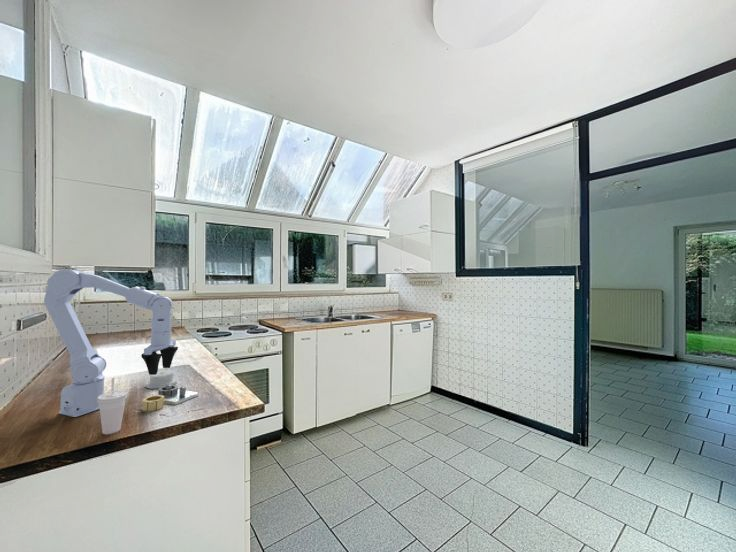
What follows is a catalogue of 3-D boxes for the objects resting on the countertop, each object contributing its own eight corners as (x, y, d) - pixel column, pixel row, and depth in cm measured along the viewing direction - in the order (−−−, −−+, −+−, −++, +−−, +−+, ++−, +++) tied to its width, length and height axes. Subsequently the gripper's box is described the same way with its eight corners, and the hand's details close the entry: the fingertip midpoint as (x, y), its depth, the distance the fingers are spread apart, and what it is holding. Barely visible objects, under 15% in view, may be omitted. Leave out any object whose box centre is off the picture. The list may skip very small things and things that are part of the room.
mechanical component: (163, 390, 113) (182, 381, 123) (164, 378, 113) (182, 370, 123) (139, 388, 114) (159, 380, 124) (139, 377, 114) (160, 369, 124)
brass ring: (151, 412, 93) (151, 402, 93) (138, 410, 95) (138, 400, 95) (168, 405, 99) (168, 396, 99) (155, 403, 100) (155, 394, 101)
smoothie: (123, 423, 86) (125, 373, 87) (129, 430, 82) (131, 378, 83) (93, 431, 81) (95, 379, 82) (98, 439, 77) (100, 384, 78)
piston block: (175, 405, 99) (175, 392, 99) (149, 400, 103) (150, 388, 103) (198, 395, 108) (198, 384, 108) (174, 391, 111) (174, 380, 112)
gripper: (160, 335, 98) (159, 377, 97) (184, 328, 112) (183, 365, 112) (137, 335, 97) (136, 377, 97) (164, 328, 112) (163, 365, 111)
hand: (160, 371), depth 104 cm, fingers open, 7 cm apart
